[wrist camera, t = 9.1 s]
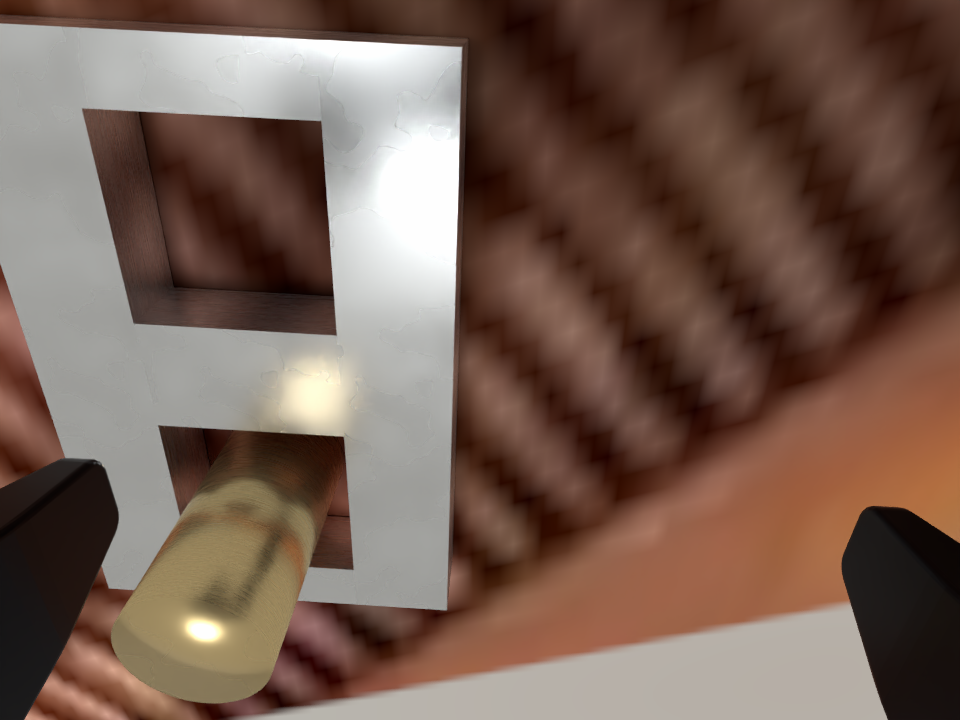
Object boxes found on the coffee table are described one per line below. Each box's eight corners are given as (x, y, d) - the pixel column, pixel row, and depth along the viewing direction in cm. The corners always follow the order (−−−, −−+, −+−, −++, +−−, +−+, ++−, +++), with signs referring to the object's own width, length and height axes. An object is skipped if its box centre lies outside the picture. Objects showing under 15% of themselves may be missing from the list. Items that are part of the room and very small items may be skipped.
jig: (468, 38, 17) (462, 47, 14) (452, 556, 26) (446, 610, 23) (-6, 13, 17) (-82, 19, 15) (143, 537, 26) (108, 588, 24)
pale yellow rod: (340, 411, 23) (263, 604, 16) (346, 501, 24) (280, 707, 18) (222, 404, 23) (93, 592, 16) (238, 494, 25) (130, 698, 18)
